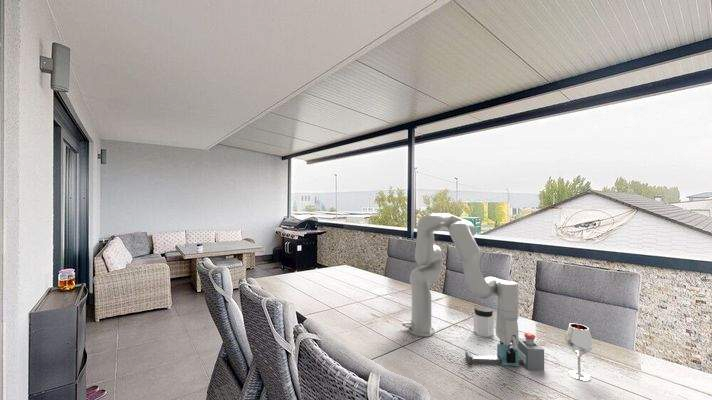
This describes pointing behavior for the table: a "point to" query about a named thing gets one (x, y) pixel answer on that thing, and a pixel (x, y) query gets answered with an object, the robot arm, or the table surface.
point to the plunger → (529, 339)
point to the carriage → (503, 354)
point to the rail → (485, 359)
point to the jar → (483, 321)
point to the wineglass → (579, 346)
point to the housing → (531, 355)
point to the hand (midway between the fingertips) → (507, 358)
